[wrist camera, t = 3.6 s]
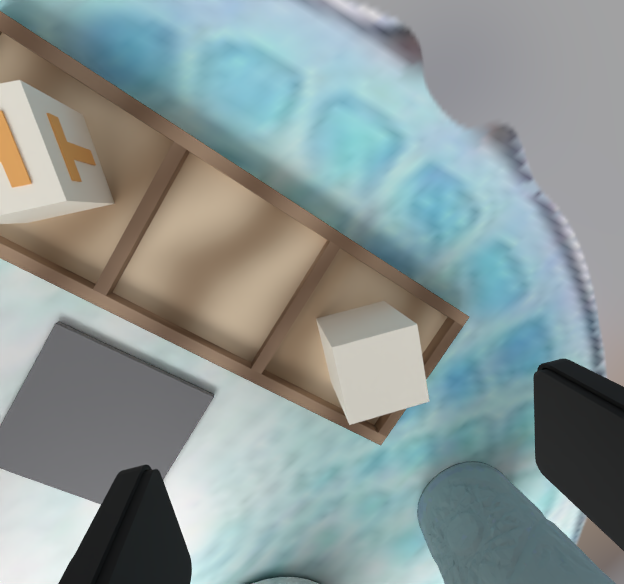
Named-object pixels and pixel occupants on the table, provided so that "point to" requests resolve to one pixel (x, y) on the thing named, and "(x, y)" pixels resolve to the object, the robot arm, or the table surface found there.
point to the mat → (95, 416)
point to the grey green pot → (496, 533)
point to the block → (373, 360)
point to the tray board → (205, 247)
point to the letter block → (45, 158)
